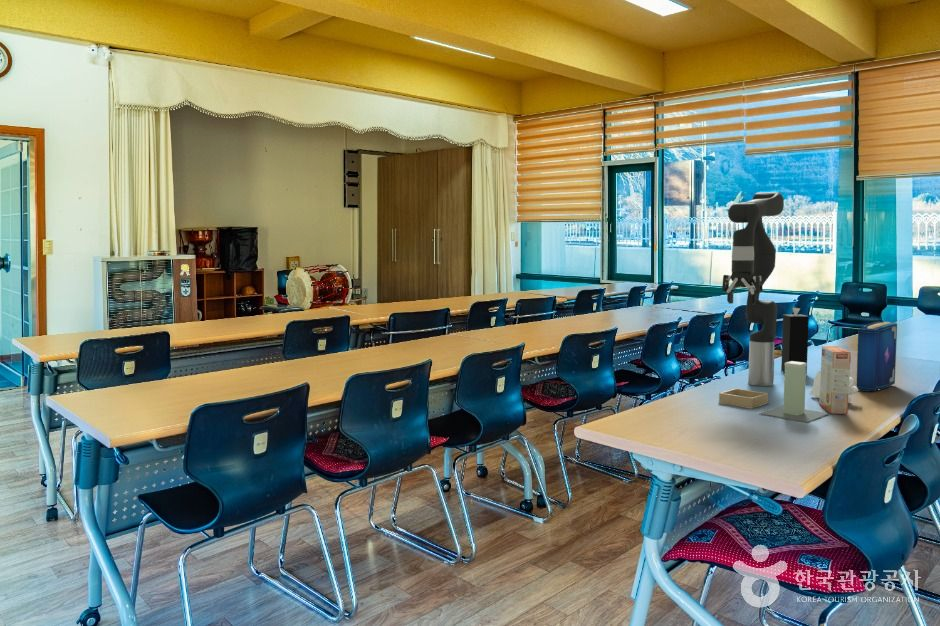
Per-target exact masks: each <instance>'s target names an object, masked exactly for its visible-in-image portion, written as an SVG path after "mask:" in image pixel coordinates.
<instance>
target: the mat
mask: <svg viewBox="0 0 940 626" xmlns="http://www.w3.org/2000/svg"><path fill="white" fill-rule="evenodd" d="M783 408H784V405H780V406H777V407H776V406H775V407H774V408H771V409H768V410H765V411H761V412H758V413H759V415H760V414H761V415H762V416H766V415H767V417H771V416H773V417H772V418H777V417H778V419H784V420H788V419H789V420H790V421H795V422H800V423H805V424H808V423H811V421H812V422H814V421H816V419H817V420H819V419H822V418H824V417H823V416H825V415H827V416H829V415H830V413H829V412H823V411H817V410H811V409H805V410H804V414H801V415H798V416H797V415H791V414H785V413H783ZM828 414H829V415H828ZM821 417H822V418H821ZM825 417H826V416H825ZM818 418H819V419H818Z"/></svg>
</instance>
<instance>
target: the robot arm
mask: <svg viewBox="0 0 940 626" xmlns="http://www.w3.org/2000/svg"><path fill="white" fill-rule="evenodd" d="M784 201H785V200H784V196H783V194H782V193H780V192H777V191H770V192H769V191H768V192H767V191H766V192H765V191H764V192H761V191H760V192H756V193H754V194H753V197H752V199H751V200H747V201H745V202H744V201H743V202H734V203H732V204H731V205H730V207H729V208H728V212H727V215H728V218H729V220H730V222H732V223H735V224H740V223H742V224H746V223H747V224H746V226H745V227H744V228H741V229H736V230H734V232H733V234H732V236H733V237H732V251H731V274H724V275H723V276H722V288H721V290H722V291H723V292H725V293H726V295H727V297H726V301H727V302H728V304H734V291H735V290H736V289H737V288H746V289H747V290H748V291H747V297H746V307H745V318H746V321H747V322H748V323H751V324H759V325H763V327H762V329H760V330H757V331H754V332H751V333H750V334H749V342H748V343H749V348H748V349H749V350H748V351H749V352H748V378H747V379H748V381H747V384H749V385H752V386H758V387H770V386H773V385H774V383H775V382H774V379H775V377H774V376H775V337H776V333H777V318H778V306H777V303H776V302H775V301H773V300H763V299H762V300H761V299H760V294H761V293H763V287H764V285H765V282H766V281H767V280H768V279H769V277H770V276H771V275H772V273H773V271H774V269H775V267H776V257H777V255H776V254H777V252H776V247H775V245H774V243H773V241H772V240H771V238H770V237H769V235H768V234H767V232H766V230H765V228H764V227H765V226H764V224H763V217H775V216H779V215H781V214H782V213H783V210H784V206H785V205H784V203H785V202H784ZM730 281H731V283H730Z"/></svg>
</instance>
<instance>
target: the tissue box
mask: <svg viewBox="0 0 940 626" xmlns="http://www.w3.org/2000/svg"><path fill="white" fill-rule="evenodd" d="M800 310H801V308H798V307H792V312H793V314H792V313H791V314H782V338H781V339H782V341H781V366H780V367H781V369H780V370H781V372H782V371H783V372H782V373H784V372H785V363H786V362H790V361H795V362H804V363H807V364H808V348H809V345H808V344H809V322H810V316H809V315H805V314H801V313H800V314H798V313H799V312H800ZM807 374H808V365H807V366H806V375H807Z"/></svg>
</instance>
